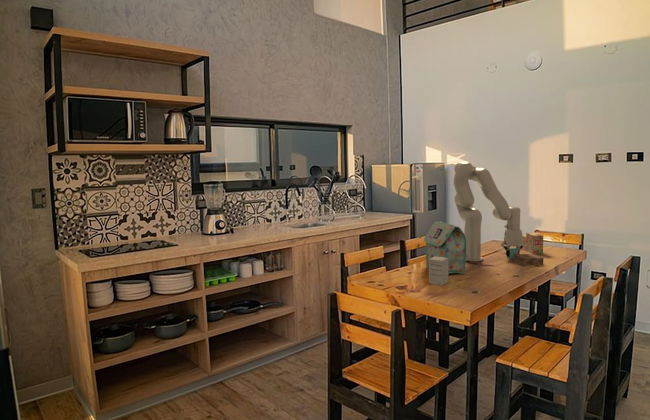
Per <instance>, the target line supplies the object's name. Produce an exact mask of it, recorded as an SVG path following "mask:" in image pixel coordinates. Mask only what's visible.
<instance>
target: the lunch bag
mask: <svg viewBox="0 0 650 420" xmlns="http://www.w3.org/2000/svg"><path fill="white" fill-rule="evenodd" d="M423 241H424V242H425V243H426V245H425V246H426V249H425V267H426V268H428V269H429V259H430V258H433V257H444V258H448V275H450V274H466V263H467V261H466V247H467V242H466V237H465V234H464V231H463V230H462V229H461V227H459V226H458V225H457V226H456V225H455V224H450V223H446V222H443V221H440V220H439V221H434V222H433V223H432V225H431V226H430V227H429V229H428V230H427V232H426V234H425V235H424V238H423Z"/></svg>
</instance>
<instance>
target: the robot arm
mask: <svg viewBox="0 0 650 420" xmlns="http://www.w3.org/2000/svg"><path fill="white" fill-rule="evenodd" d="M454 172H455V174H454V177H453V186H454V189H455V193H456V194H455V196H454V203H455V206H456V209H457V210H458V211H457V212H458V214H459V217H460V219H461V220H462V221H463V222H465V223H464V231H463V233H464V234H465V237H466V242H467V247H466V262H481V261H484V257H482V256H481V255H482V254H481V253H482V251H481V247H482V246H481V245H482V244H481V242H482V241H481V240H482V239H481V237H482V236H481V235H482V231H481V230H482V221H483V216H482V212H481V211H479V209H477V208H474V206H473V205H474V203H475V198H474V193H473V192H472V189H471V186H470V182H469V180H471V181H474V182H477V183H478V185H479V187H480V190H481V192H482V194H483V195H484V197H485V198H486V199H487V200H488V201H490V203H491V204H492V205H493V206H494V208H493V210H492V216H493V217H494V218H495V219H496V220H497V219H498V220H500V221H501V220H502V221H506V225H504V226H503V227H504V229H505V231H504V234H503V235H504V237H503V241H502V242H501V243H500V246H501V247H502V248H503V249H504V250H505V257H510V251H509V248H511V247H515V248H517V249H519V254H521V252H520V251H521V249H522V247H524V246H525V243H524V242H523V237H522V235H523V231H522V229H521V208H520V207H518V206H517V207H516V206H510V205H509V203H508V202H507V200H506V198H505V197H504V196H503V194H502V193H501V192H500V190H499V189H498V187H497V184H496V182H495V181H494V179H493V177H492V174H491V172H490V170H489V169H487V168H483V167H476V166H474V165H473V164H472V163H470V162H469V161H460V162H458V163H456V164H455V166H454Z"/></svg>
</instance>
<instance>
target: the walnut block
mask: <svg viewBox="0 0 650 420" xmlns="http://www.w3.org/2000/svg"><path fill="white" fill-rule="evenodd" d="M513 262H515V263H516V264H519V265H521V266H543V265H544V257H542V256H540V255H539V254H532V253H523V254H522V253H520V254H514V259H513Z"/></svg>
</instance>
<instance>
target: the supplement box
mask: <svg viewBox="0 0 650 420" xmlns="http://www.w3.org/2000/svg"><path fill="white" fill-rule="evenodd" d="M428 283H431V285H435V284H438V285H437V286H441V285H443V286H444V285H446V284H448V283H449V274H448V258H444V257H433V258H430V259H429V268H428Z"/></svg>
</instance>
